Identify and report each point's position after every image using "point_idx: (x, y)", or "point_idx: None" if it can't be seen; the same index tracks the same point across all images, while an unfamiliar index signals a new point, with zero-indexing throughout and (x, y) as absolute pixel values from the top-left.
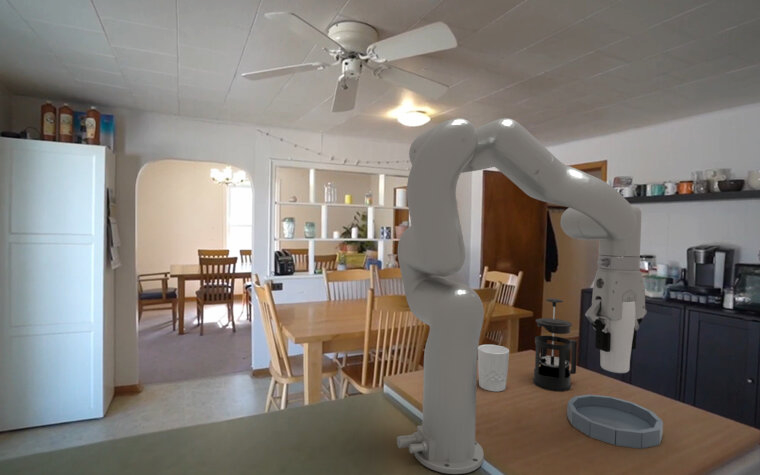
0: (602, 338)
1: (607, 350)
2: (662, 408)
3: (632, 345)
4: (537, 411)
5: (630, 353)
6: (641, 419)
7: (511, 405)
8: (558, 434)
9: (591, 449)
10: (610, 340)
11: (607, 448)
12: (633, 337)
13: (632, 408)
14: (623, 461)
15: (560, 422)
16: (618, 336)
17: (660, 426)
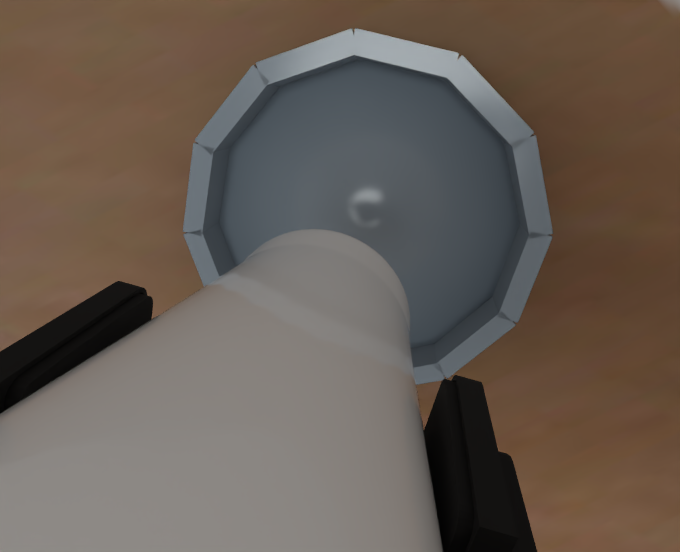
0: (526, 521)
1: (481, 390)
2: (34, 188)
3: (136, 310)
4: (505, 426)
5: (250, 265)
6: (232, 172)
7: (543, 499)
8: (623, 293)
9: (636, 163)
10: (450, 448)
11: (572, 134)
12: (74, 346)
13: (211, 221)
14: (627, 44)
15: (517, 338)
16: (401, 421)
17: (315, 44)
